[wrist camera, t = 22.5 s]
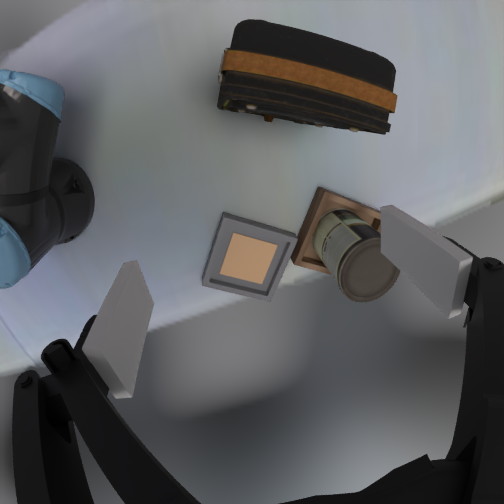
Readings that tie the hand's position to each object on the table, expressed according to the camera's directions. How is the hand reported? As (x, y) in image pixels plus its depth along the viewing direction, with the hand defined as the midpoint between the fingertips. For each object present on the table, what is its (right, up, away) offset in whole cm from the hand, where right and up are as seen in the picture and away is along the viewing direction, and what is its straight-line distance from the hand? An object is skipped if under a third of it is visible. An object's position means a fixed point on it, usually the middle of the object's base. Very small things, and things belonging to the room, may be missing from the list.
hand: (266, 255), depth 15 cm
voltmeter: (+2, +25, +28) cm, 37 cm away
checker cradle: (-2, -1, +39) cm, 39 cm away
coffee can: (+14, +3, +38) cm, 41 cm away
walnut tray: (+15, +4, +39) cm, 42 cm away
